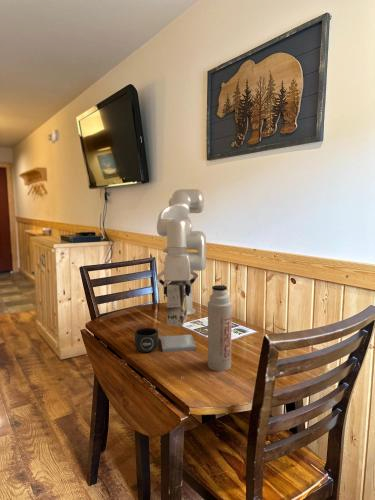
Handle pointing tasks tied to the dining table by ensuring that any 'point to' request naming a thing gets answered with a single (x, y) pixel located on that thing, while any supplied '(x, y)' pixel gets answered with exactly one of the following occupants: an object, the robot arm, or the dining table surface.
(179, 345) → the slate trivet
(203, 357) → the dining table surface
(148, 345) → the mug
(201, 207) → the robot arm
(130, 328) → the dining table surface
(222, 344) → the thermos bottle
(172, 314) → the coffee box
